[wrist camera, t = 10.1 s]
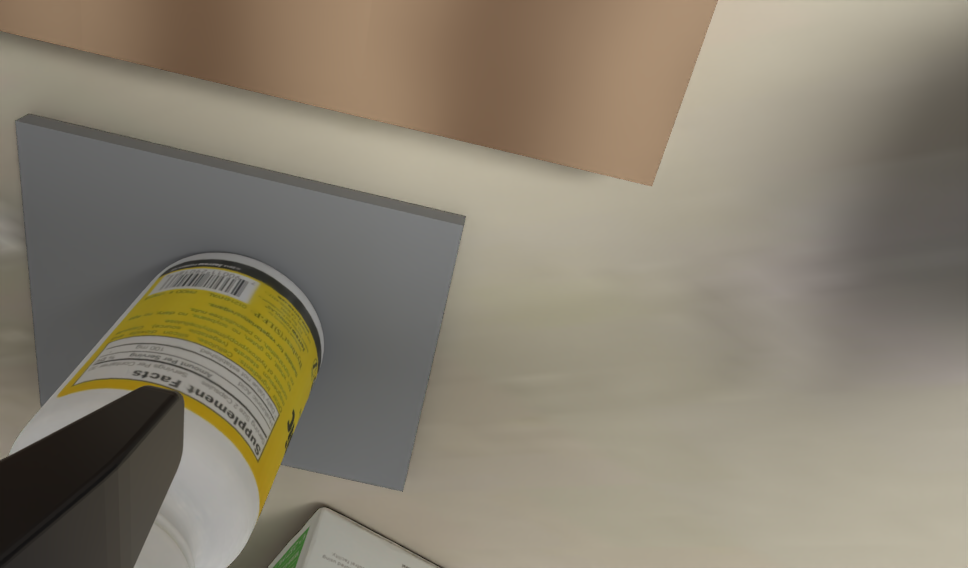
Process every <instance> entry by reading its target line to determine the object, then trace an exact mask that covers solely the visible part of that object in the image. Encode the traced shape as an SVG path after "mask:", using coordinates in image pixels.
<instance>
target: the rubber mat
mask: <svg viewBox="0 0 968 568" xmlns="http://www.w3.org/2000/svg"><path fill="white" fill-rule="evenodd" d="M15 123H16V134H17V145H18V156H19V168H20V179H21V190H22V201H23V212H24V224H25V235H26V246H27V257H28V269H29V280H30V291H31V302H32V313H33V325H34V336H35V347H36V358H37V370H38V381H39V392H40V403H41V407H42V406H43V405H44V404H45V403H46V402H47V401H48V400H49V398H50V397H51V396H52V395H53V394H54V393H55V392H56V390H57V389H58V388H59V387H60V386H61V385H62V384H63V383H64V381H65V380H66V379H67V378H68V377H69V376H70V374H71V373H72V372H73V371H74V370H75V369H76V368H77V366H78V365H79V364H80V363H81V362H82V361H83V359H84V358H85V357H86V356H87V355H88V354H89V352H90V351H91V350H92V349H93V348H94V347H95V346H96V344H97V343H98V342H99V341H100V340H101V339H102V338H103V336H104V335H105V334H106V333H107V332H108V331H109V330H110V328H111V327H112V326H113V325H114V324H115V323H116V321H117V320H118V319H119V318H120V317H121V316H122V314H123V313H124V312H125V311H126V310H127V309H128V308H129V306H130V305H131V304H132V303H133V302H134V301H135V299H136V298H137V297H138V296H139V295H140V294H141V293H142V291H143V290H144V289H145V288H146V287H147V286H148V285H149V284H150V282H151V281H152V280H153V279H154V278H155V277H156V276H157V275H158V274H159V273H160V272H162V271H163V270H164V269H165V268H167V267H168V266H170V265H171V264H173V263H175V262H177V261H179V260H181V259H183V258H186V257H190V256H193V255H197V254H203V253H231V254H237V255H242V256H246V257H249V258H252V259H255V260H258V261H260V262H263V263H265V264H267V265H269V266H271V267H272V268H274V269H276V270H277V271H279V272H280V273H282V274H283V275H284V276H286V277H287V278H288V279H289V280H291V281H292V282H293V283H294V284H295V285H296V286H297V287H298V288H299V289H300V290H301V291H302V292H303V293H304V295H305V296H306V297H307V298H308V300H309V301H310V303H311V304H312V306H313V308H314V310H315V312H316V314H317V316H318V318H319V321H320V324H321V327H322V331H323V337H324V353H323V359H322V363H321V366H320V369H319V372H318V375H317V378H316V381H315V383H314V386H313V388H312V390H311V393H310V395H309V398H308V400H307V402H306V404H305V407H304V409H303V411H302V414H301V416H300V419H299V421H298V424H297V426H296V428H295V431H294V433H293V435H292V438H291V440H290V443H289V446H288V448H287V451H286V453H285V455H284V457H283V460H282V462H281V464H280V465H285V466H289V467H294V468H298V469H303V470H307V471H312V472H316V473H321V474H325V475H330V476H334V477H339V478H343V479H348V480H352V481H357V482H362V483H366V484H371V485H375V486H380V487H384V488H389V489H393V490H398V491H402V492H403V489H404V484H405V480H406V476H407V471H408V467H409V463H410V458H411V454H412V450H413V445H414V441H415V437H416V432H417V428H418V423H419V419H420V415H421V410H422V406H423V402H424V397H425V393H426V388H427V384H428V380H429V375H430V371H431V367H432V362H433V358H434V353H435V349H436V345H437V340H438V336H439V332H440V327H441V323H442V318H443V314H444V310H445V305H446V301H447V297H448V292H449V288H450V283H451V279H452V275H453V270H454V266H455V262H456V257H457V253H458V248H459V244H460V240H461V235H462V231H463V227H464V222H465V218H466V216H462V215H458V214H453V213H449V212H445V211H441V210H436V209H432V208H428V207H424V206H419V205H415V204H411V203H407V202H402V201H398V200H394V199H390V198H385V197H381V196H377V195H373V194H368V193H364V192H360V191H356V190H351V189H347V188H343V187H338V186H334V185H330V184H326V183H321V182H317V181H313V180H309V179H304V178H300V177H296V176H292V175H287V174H283V173H279V172H275V171H270V170H266V169H262V168H258V167H253V166H249V165H245V164H241V163H236V162H232V161H228V160H223V159H219V158H215V157H211V156H206V155H202V154H198V153H194V152H189V151H185V150H181V149H177V148H172V147H168V146H164V145H160V144H155V143H151V142H147V141H143V140H138V139H134V138H130V137H126V136H121V135H117V134H113V133H109V132H104V131H100V130H96V129H91V128H87V127H83V126H79V125H74V124H70V123H66V122H62V121H57V120H53V119H49V118H45V117H40V116H36V115H32V114H27V115H25V116H24V117H22V118H20V119H18V120H16V121H15Z"/></svg>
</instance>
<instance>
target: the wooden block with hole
mask: <svg viewBox="0 0 968 568" xmlns="http://www.w3.org/2000/svg"><path fill="white" fill-rule="evenodd" d="M717 1H718V0H0V31H3V32H7V33H11V34H15V35H19V36H23V37H28V38H32V39H36V40H40V41H44V42H49V43H53V44H57V45H61V46H65V47H70V48H74V49H78V50H82V51H86V52H91V53H95V54H99V55H103V56H107V57H112V58H116V59H120V60H124V61H128V62H133V63H137V64H141V65H145V66H149V67H154V68H158V69H162V70H166V71H170V72H174V73H179V74H183V75H187V76H191V77H195V78H200V79H204V80H208V81H212V82H216V83H221V84H225V85H229V86H233V87H237V88H242V89H246V90H250V91H254V92H258V93H263V94H267V95H271V96H275V97H279V98H284V99H288V100H292V101H296V102H300V103H305V104H309V105H313V106H317V107H321V108H326V109H330V110H334V111H338V112H342V113H346V114H351V115H355V116H359V117H363V118H367V119H372V120H376V121H380V122H384V123H388V124H393V125H397V126H401V127H405V128H409V129H414V130H418V131H422V132H426V133H430V134H435V135H439V136H443V137H447V138H451V139H456V140H460V141H464V142H468V143H472V144H477V145H481V146H485V147H489V148H493V149H498V150H502V151H506V152H510V153H514V154H518V155H523V156H527V157H531V158H535V159H539V160H544V161H548V162H552V163H556V164H560V165H565V166H569V167H573V168H577V169H581V170H586V171H590V172H594V173H598V174H602V175H607V176H611V177H615V178H619V179H623V180H628V181H632V182H636V183H640V184H644V185H649V186H652V185H653V182H654V179H655V176H656V173H657V171H658V168H659V165H660V162H661V159H662V156H663V154H664V151H665V148H666V145H667V142H668V140H669V137H670V134H671V131H672V128H673V125H674V123H675V120H676V117H677V114H678V111H679V109H680V106H681V103H682V100H683V97H684V94H685V92H686V89H687V86H688V83H689V80H690V77H691V75H692V72H693V69H694V66H695V63H696V61H697V58H698V55H699V52H700V49H701V46H702V44H703V41H704V38H705V35H706V32H707V30H708V27H709V24H710V21H711V18H712V15H713V13H714V10H715V7H716V4H717Z"/></svg>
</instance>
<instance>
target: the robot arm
mask: <svg viewBox="0 0 968 568" xmlns="http://www.w3.org/2000/svg"><path fill="white" fill-rule="evenodd" d="M183 440H184V399H183V396H182V395H181V394H180V393H179V392H177V391H174V390H169V389H165V388H160V387H156V386H151V385H146V386H142V387H139V388H137V389H135V390H133V391H131V392H130V393H128V394H126V395H124V396H122V397H120V398H118V399H116V400H114V401H112V402H110V403H109V404H107V405H105V406H103V407H101V408H99V409H97V410H95V411H93V412H91V413H90V414H88V415H86V416H84V417H82V418H80V419H78V420H76V421H74V422H72V423H71V424H69V425H67V426H65V427H63V428H61V429H59V430H57V431H55V432H53V433H51V434H50V435H48V436H46V437H44V438H42V439H40V440H38V441H36V442H34V443H32V444H31V445H29V446H27V447H25V448H23V449H21V450H19V451H17V452H15V453H13V454H11V455H10V456H8V457H6V458H4V459H2V460H0V568H134V566H135V564H136V561H137V559H138V557H139V555H140V552H141V550H142V548H143V546H144V543H145V541H146V539H147V537H148V535H149V532H150V530H151V528H152V526H153V523H154V521H155V519H156V517H157V514H158V512H159V510H160V508H161V505H162V503H163V501H164V499H165V497H166V494H167V492H168V490H169V488H170V485H171V483H172V481H173V479H174V476H175V474H176V472H177V470H178V467H179V464H180V461H181V457H182V453H183Z"/></svg>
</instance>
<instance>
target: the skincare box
mask: <svg viewBox="0 0 968 568" xmlns="http://www.w3.org/2000/svg"><path fill="white" fill-rule="evenodd" d="M268 568H440V567H438V566H436V565H434V564H433V563H431V562H429V561H427V560H425V559H423V558H421V557H420V556H418V555H416V554H414V553H412V552H410V551H409V550H407V549H405V548H403V547H401V546H400V545H398V544H396V543H394V542H392V541H390V540H388V539H386V538H384V537H383V536H381V535H379V534H377V533H375V532H373V531H371V530H369V529H367V528H365V527H363V526H362V525H360V524H358V523H356V522H354V521H352V520H350V519H348V518H347V517H345V516H343V515H341V514H338V513H336V512H334V511H332V510H331V509H329V508H325V507H323V508H320V509H318V510H317V511H316V512H315V514H314V515H313V516H312V517H311V518H310V519H309V521H308V522H307V523H306V524H305V526H304V527H303V528H302V529H301V530H300V531H299V532H298V533H297V534H296V535H295V536H294V537H293V538H292V539H291V540H290V542H289V543H288V544H287V545H286V546H285V547H284V549H283V550H282V551H281V552H280V553H279V555H278V556H277V557H276V558H275V559H274V560H273V562H272V563H271V564H270V565H269V566H268Z"/></svg>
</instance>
